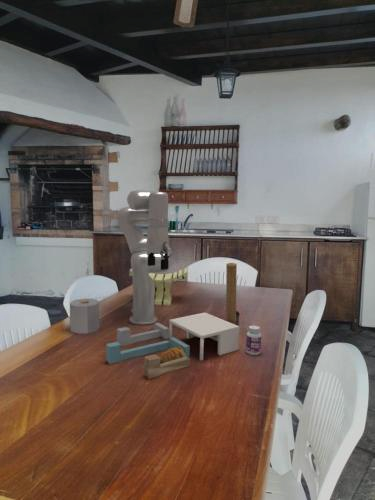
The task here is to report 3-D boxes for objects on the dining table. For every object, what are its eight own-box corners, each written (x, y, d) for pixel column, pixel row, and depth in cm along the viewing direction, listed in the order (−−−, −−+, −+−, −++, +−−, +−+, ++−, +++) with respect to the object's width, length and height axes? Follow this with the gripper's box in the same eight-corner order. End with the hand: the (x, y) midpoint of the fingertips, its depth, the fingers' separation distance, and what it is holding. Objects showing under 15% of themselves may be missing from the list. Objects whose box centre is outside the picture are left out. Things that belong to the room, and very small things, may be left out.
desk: (168, 342, 148) (169, 319, 146) (204, 333, 158) (204, 312, 157) (201, 360, 131) (201, 335, 130) (238, 349, 142) (239, 326, 140)
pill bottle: (251, 356, 136) (252, 330, 135) (242, 351, 141) (243, 325, 139) (263, 353, 138) (264, 328, 137) (254, 348, 143) (255, 323, 142)
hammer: (233, 342, 155) (233, 273, 145) (220, 341, 156) (220, 273, 146) (240, 319, 173) (240, 256, 164) (229, 317, 174) (229, 256, 165)
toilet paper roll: (105, 329, 161) (104, 302, 159) (79, 336, 152) (79, 308, 150) (89, 322, 169) (88, 297, 167) (64, 328, 160) (63, 302, 159)
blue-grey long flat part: (106, 360, 130) (106, 344, 129) (170, 345, 145) (170, 330, 144) (122, 375, 120) (122, 357, 119) (189, 356, 135) (189, 340, 134)
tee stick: (114, 341, 147) (114, 327, 146) (158, 332, 159) (158, 318, 158) (123, 348, 140) (123, 333, 140) (168, 337, 152) (169, 323, 151)
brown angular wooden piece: (144, 375, 120) (144, 357, 119) (185, 363, 130) (185, 346, 129) (149, 378, 118) (149, 360, 117) (190, 366, 127) (191, 349, 126)
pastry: (165, 366, 127) (165, 355, 126) (154, 360, 132) (154, 349, 131) (187, 359, 133) (187, 349, 132) (175, 353, 138) (175, 343, 137)
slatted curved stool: (187, 297, 214) (187, 266, 212) (186, 305, 198) (187, 271, 196) (134, 296, 215) (134, 265, 212) (129, 303, 199) (129, 270, 196)
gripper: (138, 222, 152) (138, 264, 154) (161, 226, 138) (161, 272, 141) (154, 222, 156) (154, 263, 159) (178, 225, 143) (178, 270, 145)
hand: (157, 267), depth 150 cm, fingers open, 9 cm apart
